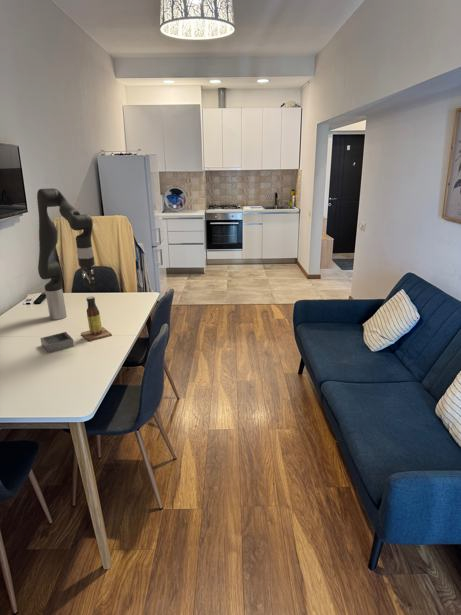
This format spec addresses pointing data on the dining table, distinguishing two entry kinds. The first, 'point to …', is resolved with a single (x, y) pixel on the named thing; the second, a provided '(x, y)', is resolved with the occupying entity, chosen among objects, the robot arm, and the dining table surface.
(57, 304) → the robot arm
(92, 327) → the sauce bottle
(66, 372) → the dining table surface
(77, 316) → the dining table surface
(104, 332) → the walnut board
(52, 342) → the grey shallow box
